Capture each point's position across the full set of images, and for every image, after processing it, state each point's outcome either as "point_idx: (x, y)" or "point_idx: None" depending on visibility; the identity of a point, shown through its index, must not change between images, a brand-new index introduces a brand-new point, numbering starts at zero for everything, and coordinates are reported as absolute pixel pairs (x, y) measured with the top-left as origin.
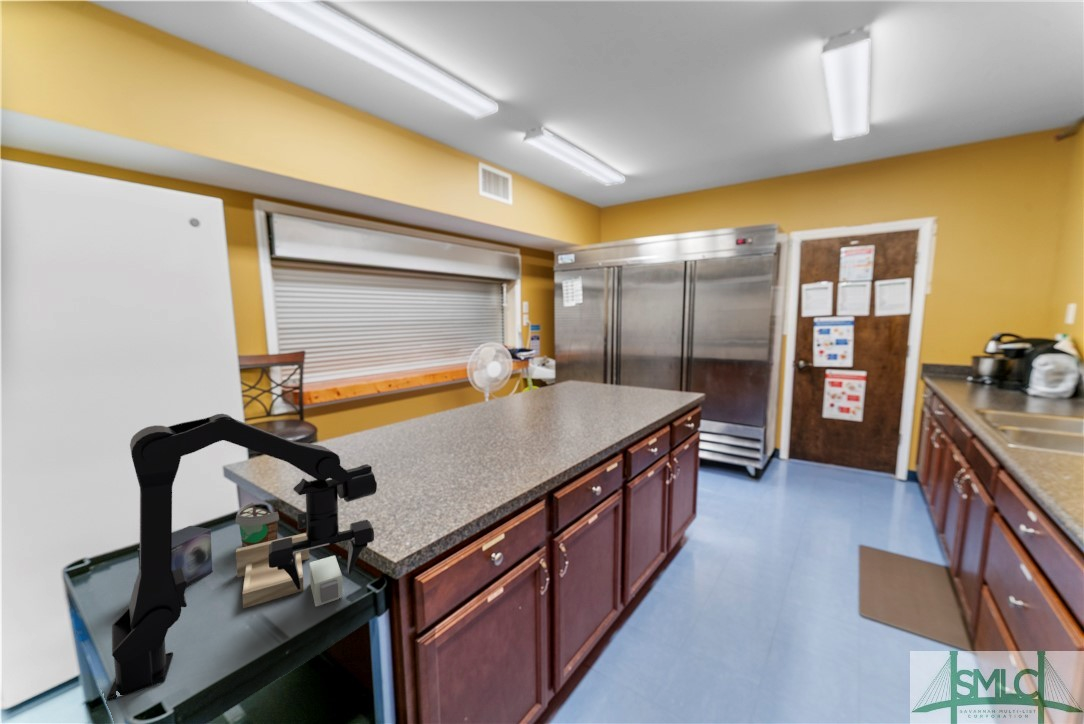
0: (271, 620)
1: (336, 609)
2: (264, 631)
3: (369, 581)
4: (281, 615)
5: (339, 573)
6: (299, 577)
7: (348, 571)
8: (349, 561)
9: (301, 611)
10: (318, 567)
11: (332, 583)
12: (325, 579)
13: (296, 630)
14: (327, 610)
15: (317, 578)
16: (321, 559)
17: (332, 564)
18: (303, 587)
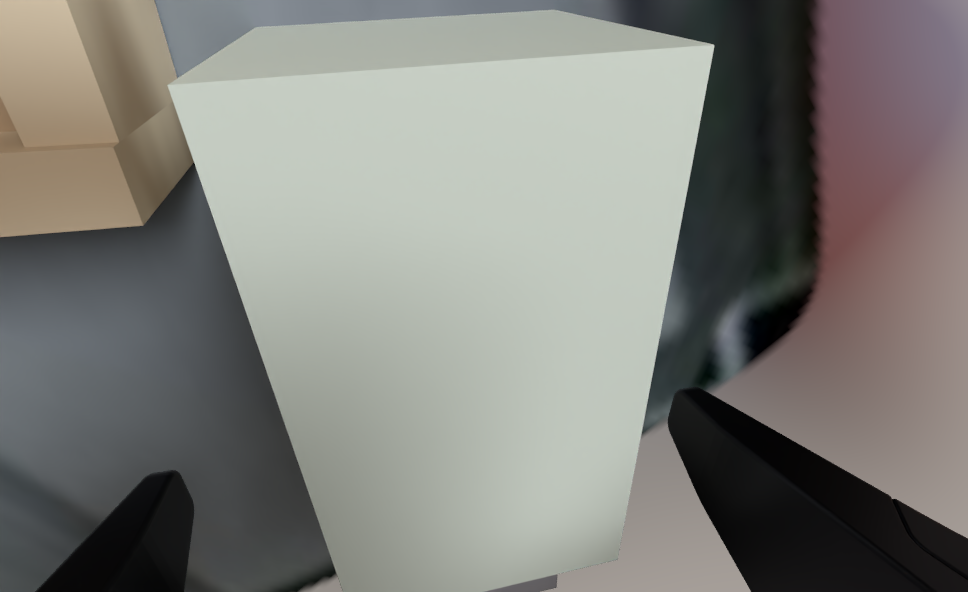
0: (23, 469)
1: None
2: (26, 547)
3: (756, 280)
4: (91, 440)
5: (607, 535)
6: (77, 209)
7: (688, 469)
8: (777, 582)
9: (254, 440)
10: (386, 352)
11: (514, 587)
12: (464, 585)
13: (260, 569)
14: None
15: (381, 561)
16: (442, 90)
17: (588, 350)
18: (189, 167)
